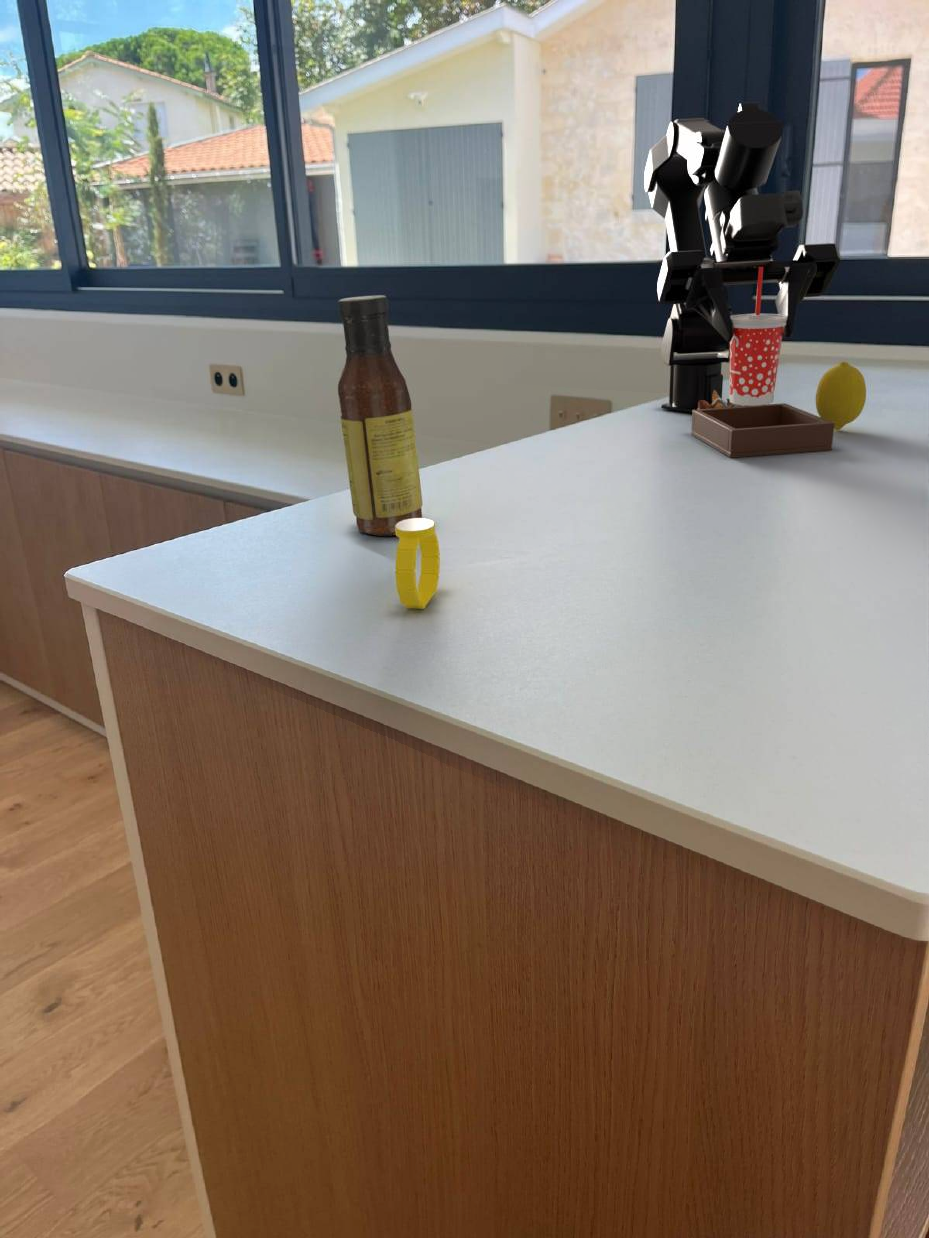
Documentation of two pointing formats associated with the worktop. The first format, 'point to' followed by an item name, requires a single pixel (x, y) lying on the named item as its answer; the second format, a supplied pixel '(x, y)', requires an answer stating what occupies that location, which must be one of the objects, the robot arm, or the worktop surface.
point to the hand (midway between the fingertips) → (759, 337)
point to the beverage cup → (755, 354)
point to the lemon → (841, 395)
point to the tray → (762, 430)
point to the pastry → (716, 403)
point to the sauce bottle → (376, 421)
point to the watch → (410, 538)
